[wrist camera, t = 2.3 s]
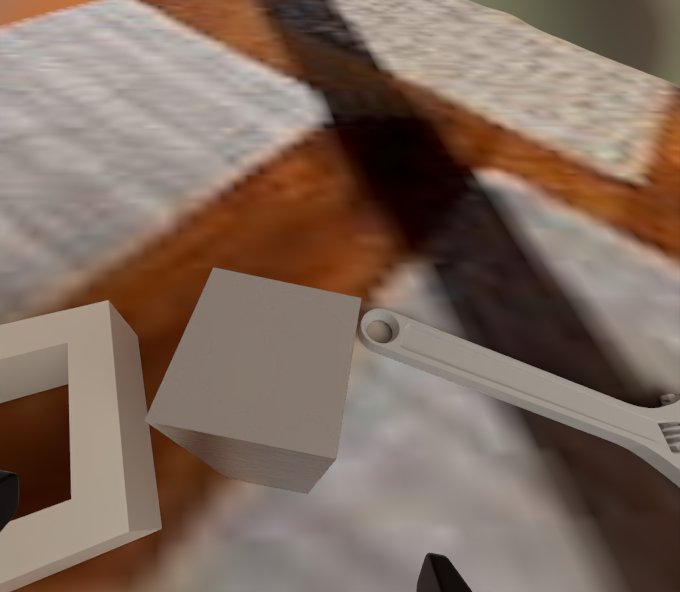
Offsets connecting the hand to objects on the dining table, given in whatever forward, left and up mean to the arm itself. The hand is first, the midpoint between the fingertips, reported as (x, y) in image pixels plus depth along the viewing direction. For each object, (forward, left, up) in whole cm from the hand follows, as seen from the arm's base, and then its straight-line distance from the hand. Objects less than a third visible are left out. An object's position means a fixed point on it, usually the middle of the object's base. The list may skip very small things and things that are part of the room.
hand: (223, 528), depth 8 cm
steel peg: (+3, +2, -10) cm, 11 cm away
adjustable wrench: (+16, -9, -11) cm, 22 cm away
